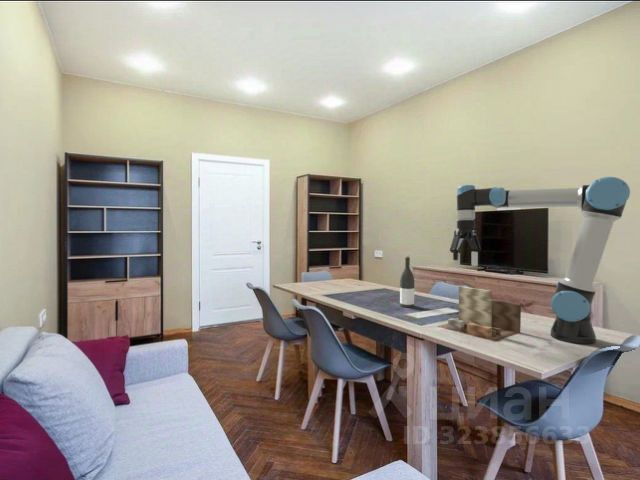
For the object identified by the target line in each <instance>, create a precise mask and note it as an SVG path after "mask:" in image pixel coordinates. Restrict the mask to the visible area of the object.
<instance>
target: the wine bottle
mask: <svg viewBox="0 0 640 480" xmlns="http://www.w3.org/2000/svg"><path fill="white" fill-rule="evenodd" d="M404 258H405V259H404V260H405V265H404V267H405V268H404V270H403V271H402V273H401V275H400V278H399V306H400V307H403V308H413V307H415V276H414V273H413V272H412V270H411V267H410V266H411V265H410V261H411V257H410V254H405V257H404Z"/></svg>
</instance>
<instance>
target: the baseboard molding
mask: <svg viewBox="0 0 640 480" xmlns="http://www.w3.org/2000/svg"><path fill="white" fill-rule="evenodd" d="M457 314H459V309H457V308H455V306H450V307H449V306H443V308H437V309H429V310H423V311H417V312H411V313H406V314H403V316H405V317H407V318H412V319H415V320H417V319H418V320H422V319H427V318H431V317H435V316H441V315H447V316H448V315H457Z"/></svg>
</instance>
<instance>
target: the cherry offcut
mask: <svg viewBox="0 0 640 480" xmlns="http://www.w3.org/2000/svg"><path fill="white" fill-rule="evenodd" d="M467 333H468V334H472V335H476V336H480V337H483V338H487V339H489V338H492V327H488V326H483V325H479V324H475V323H468V324H467Z"/></svg>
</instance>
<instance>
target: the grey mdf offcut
mask: <svg viewBox="0 0 640 480" xmlns="http://www.w3.org/2000/svg"><path fill="white" fill-rule="evenodd" d="M458 319H459V318H453V317H451V318H448V319H447V324H448V328H449V329H453V330H457V331H464V321H462V320H458Z"/></svg>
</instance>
